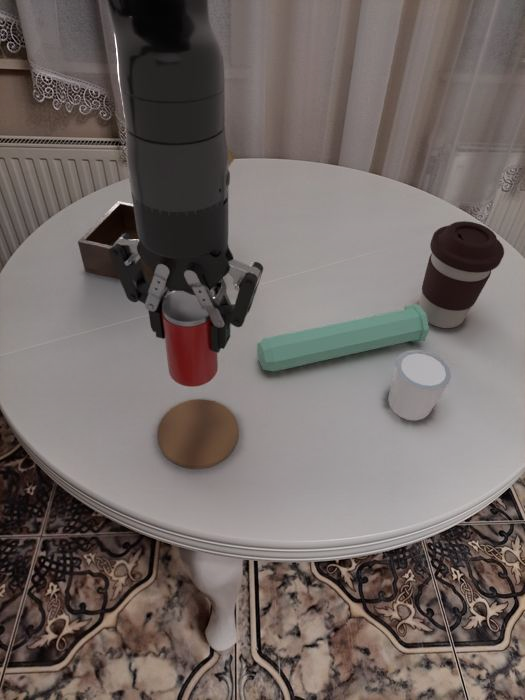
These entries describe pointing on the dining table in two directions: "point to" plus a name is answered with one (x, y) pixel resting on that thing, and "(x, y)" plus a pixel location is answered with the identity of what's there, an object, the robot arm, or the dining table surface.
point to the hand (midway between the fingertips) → (191, 339)
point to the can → (188, 340)
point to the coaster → (198, 433)
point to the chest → (109, 240)
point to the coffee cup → (458, 271)
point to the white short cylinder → (417, 384)
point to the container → (343, 338)
